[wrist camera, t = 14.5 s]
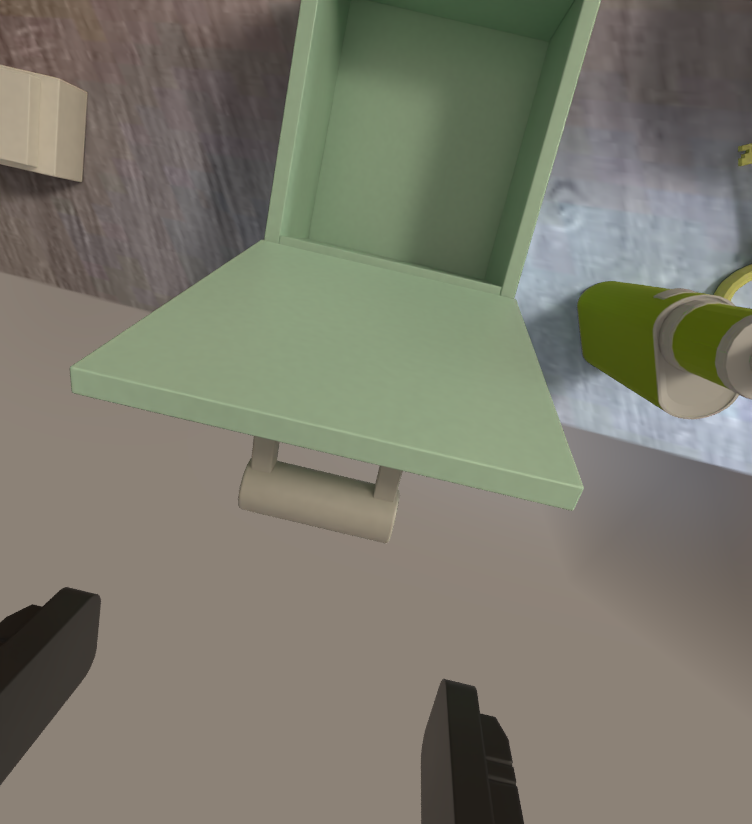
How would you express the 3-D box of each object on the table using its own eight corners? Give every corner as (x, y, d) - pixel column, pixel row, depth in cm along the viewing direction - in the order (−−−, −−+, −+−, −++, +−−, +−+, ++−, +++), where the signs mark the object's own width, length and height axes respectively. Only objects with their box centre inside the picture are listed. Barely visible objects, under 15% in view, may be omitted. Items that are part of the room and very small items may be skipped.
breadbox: (342, -16, 33) (317, -107, 25) (562, 35, 33) (613, -40, 25) (297, 248, 38) (262, 246, 29) (491, 293, 37) (512, 305, 29)
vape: (631, 274, 36) (869, 296, 17) (638, 361, 38) (864, 470, 19) (574, 285, 37) (744, 319, 18) (583, 371, 38) (749, 487, 19)
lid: (68, 366, 14) (81, 517, 17) (585, 488, 14) (520, 621, 16) (261, 239, 29) (252, 329, 31) (516, 298, 28) (487, 384, 31)
